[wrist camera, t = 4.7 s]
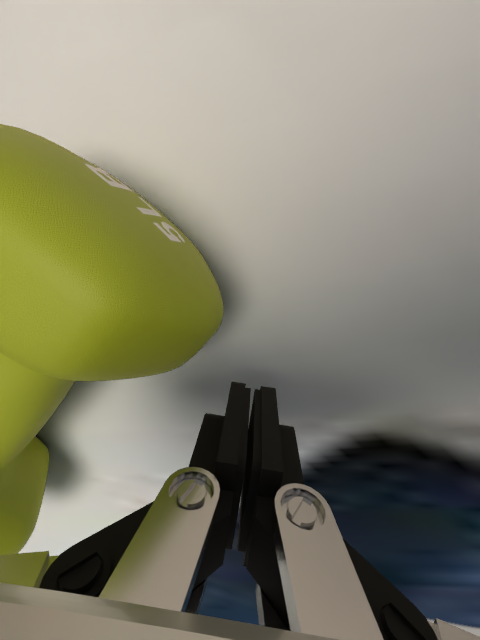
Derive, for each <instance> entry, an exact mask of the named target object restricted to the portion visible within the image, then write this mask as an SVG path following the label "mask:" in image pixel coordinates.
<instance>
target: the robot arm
mask: <svg viewBox="0 0 480 640" xmlns="http://www.w3.org/2000/svg"><path fill="white" fill-rule="evenodd" d="M245 386H246V384H244V383H237V382H232V383H231V388H230V393H229V398H228V403H227V408H226V413H225V416H220V415H214V414H207V413H206V414H205V416H204V419H203V422H202V426H201V429H200V432H199V435H198V438H197V442H196V445H195V448H194V451H193V455H192V458H191V461H190V464H189V467H186V468H183V469H180V470H177V471H176V472H175V473H173V474H172V475H170V477H169V478H168V479H167V480H166V482H165V483H164V485H163V487H162V489H161V490H160V492H159V494H158V496H157V497H156V499H155V501H153V502H152V503H150V504H148V505H146V506H144V507H143V508H141V509H139V510H137V511H135V512H133V513H132V514H130V515H128V516H126V517H124V518H122V519H121V520H119V521H117V522H115V523H113V524H111V525H110V526H108V527H106V528H104V529H102V530H101V531H99V532H97V533H95V534H93V535H91V536H90V537H88V538H86V539H84V540H82V541H80V542H79V543H77V544H75V545H73V546H72V547H70V548H69V549H67V550H66V551H64V552H63V553H61V554H60V555H59V556H49V551H45V552H33V553H21V554H9V555H0V640H480V637H479V636H476V635H474V634H472V633H470V632H467V631H465V630H463V629H460V628H458V627H456V626H453V625H451V624H449V623H446V622H444V621H442V620H439V619H437V618H436V619H435V621H434V623H432V622H430V621H427V619H426V618H425V616H424V615H423V614H422V613H421V612H420V611H419V610H418V609H417V608H416V606H415V605H414V604H413V603H412V602H410V601H409V600H408V599H407V598H406V597H405V596H404V595H403V594H402V593H401V592H400V591H399V590H398V589H397V588H395V587H394V586H393V585H392V584H391V583H390V582H389V581H388V580H387V579H386V578H385V577H384V576H383V575H381V574H380V573H379V572H378V571H377V570H376V569H375V568H374V567H373V566H372V565H371V564H370V563H369V562H368V561H366V560H365V559H364V558H363V557H362V556H361V555H360V554H359V553H358V552H357V551H356V550H355V549H354V548H352V547H351V546H350V545H349V544H348V543H347V542H346V541H345V540H344V539H343V538H342V536H341V534H340V531H339V529H338V526H337V524H336V521H335V519H334V516H333V514H332V512H331V509H330V507H329V505H328V504H327V502H326V500H325V499H324V498H323V497H322V496H321V495H320V494H319V493H318V492H317V491H315V490H314V489H312V488H310V487H308V486H306V485H304V482H303V476H302V470H301V464H300V459H299V453H298V447H297V441H296V436H295V430H294V428H293V427H290V426H284V425H279V418H278V408H277V398H276V389H275V388H270V387H263V386H261V388H260V390H258V389H255V392H254V398H253V404H252V410H251V416H250V422H249V408H250V392H251V388H245ZM248 423H249V428H248ZM241 491H242V492H241ZM240 497H241V505H240V519H239V532H238V546H237V551H243V552H244V562H243V566H246V567H247V570H248V571H249V573H250V574H251V575H252V577H253V578H254V579H255V581H256V599H257V608H258V617H259V625H254V624H248V623H243V622H237V621H231V620H226V619H220V618H214V617H208V616H203V615H198V613H199V610H200V606H201V603H202V599H203V596H204V592H205V589H206V585H207V578H208V576H209V575H211V574H212V573H213V572H214V571H215V570H217V569H218V568H219V567H220V566H221V565H223V560H224V553H225V548H226V549H232V544H233V538H234V532H235V526H236V520H237V515H238V509H239V503H240Z"/></svg>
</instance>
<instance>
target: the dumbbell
mask: <svg viewBox="0 0 480 640" xmlns="http://www.w3.org/2000/svg"><path fill="white" fill-rule="evenodd" d="M222 317H223V300H222V297H221V294H220V290H219V287H218V285H217V283H216V281H215V279H214V277H213V275H212V273H211V271H210V269H209V267H208V265H207V263H206V262H205V260H204V258H203V256H202V255H201V254H200V252H199V251H198V250H197V248H196V247H195V246H194V245H193V244H192V242H191V241H190V240H189V239H188V238H187V237H186V236H185V235H184V234H183V233H182V232H181V231H180V230H179V229H178V228H177V227H176V226H175V225H174V224H173V223H172V222H170V221H169V220H168V219H167V218H166V217H165V216H164V215H163V214H162V213H161V212H159V211H158V210H157V209H156V208H155V207H154V206H152V205H151V204H150V203H149V202H148V201H146V200H145V199H144V198H143V197H141V196H140V195H139V194H137V193H136V192H135V191H133V190H132V189H131V188H129V187H128V186H126V185H125V184H123V183H122V182H121V181H119V180H117V179H116V178H114V177H113V176H111V175H110V174H108V173H107V172H105V171H103V170H102V169H100V168H99V167H97V166H95V165H93V164H92V163H90V162H88V161H86V160H85V159H83V158H81V157H79V156H78V155H76V154H74V153H72V152H71V151H69V150H67V149H65V148H63V147H61V146H59V145H57V144H55V143H53V142H51V141H49V140H47V139H45V138H43V137H41V136H39V135H36V134H33V133H31V132H28V131H26V130H23V129H20V128H16V127H12V126H7V125H2V124H0V555H9V554H18V552H19V551H20V550H21V549H22V548H23V547H24V545H25V544H26V543H27V541H28V539H29V538H30V536H31V534H32V532H33V530H34V528H35V525H36V522H37V519H38V515H39V511H40V508H41V504H42V499H43V495H44V490H45V485H46V479H47V473H48V466H49V452H48V449H47V447H46V446H45V444H43V443H42V442H41V441H40V440H39V439H38V438H37V437H35V436H36V434H37V433H38V432H39V431H40V430H41V429H42V427H43V426H44V425H45V424H46V422H47V421H48V420H49V418H50V417H51V416H52V414H53V413H54V412H55V410H56V409H57V407H58V406H59V405H60V403H61V402H62V400H63V399H64V397H65V396H66V394H67V393H68V391H69V390H70V388H71V387H72V385H73V384H74V382H75V381H106V380H120V379H130V378H138V377H144V376H151V375H156V374H160V373H165V372H168V371H171V370H173V369H175V368H177V367H180V366H182V365H183V364H184V363H185V362H187V361H188V360H189V359H191V358H192V357H193V356H194V355H195V354H196V353H197V352H198V351H199V350H200V349H201V348H202V347H203V346H204V345H205V344H206V342H207V341H208V340H209V339H210V338H211V337H212V336H213V335H214V333H215V332H216V331H217V329H218V328H219V326H220V325H221V322H222Z"/></svg>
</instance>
